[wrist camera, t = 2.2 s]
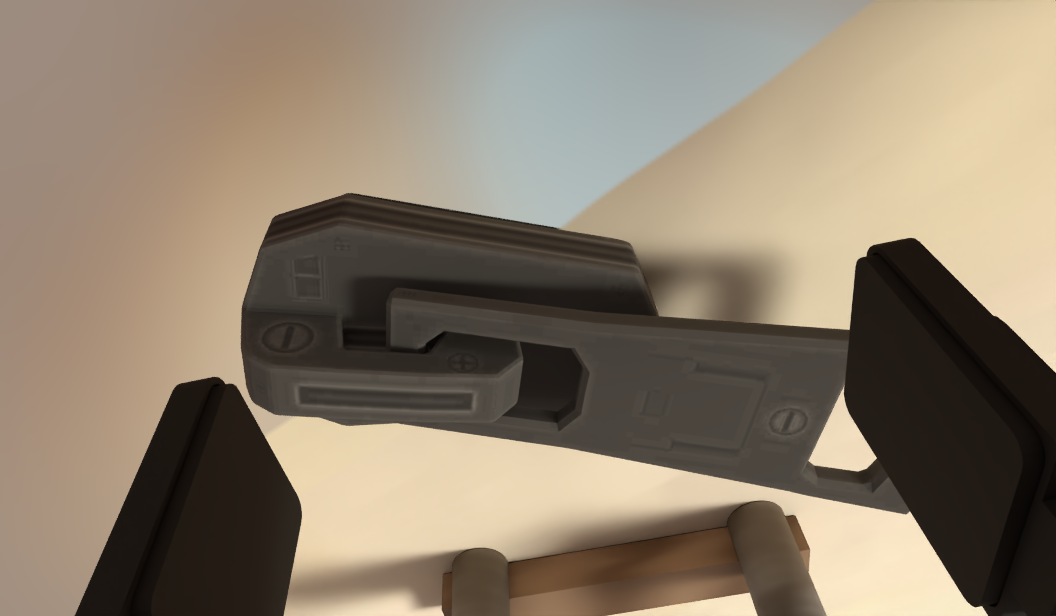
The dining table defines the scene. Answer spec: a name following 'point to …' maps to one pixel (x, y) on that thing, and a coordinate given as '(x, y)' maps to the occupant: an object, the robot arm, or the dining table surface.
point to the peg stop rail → (646, 573)
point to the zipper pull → (532, 347)
